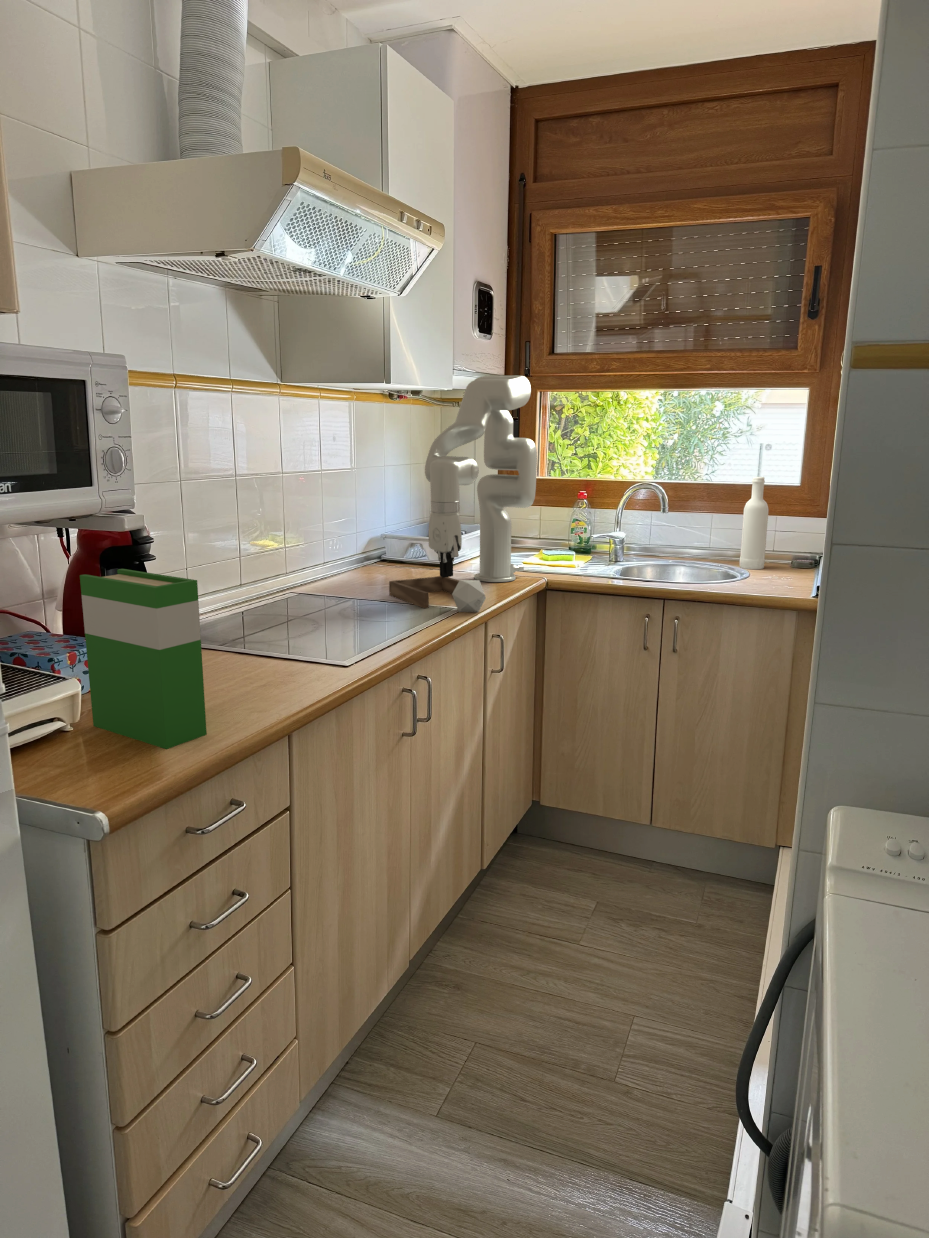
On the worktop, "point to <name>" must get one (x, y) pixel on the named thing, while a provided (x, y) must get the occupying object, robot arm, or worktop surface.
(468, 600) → the die
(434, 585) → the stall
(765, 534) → the bottle
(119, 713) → the hardback book
